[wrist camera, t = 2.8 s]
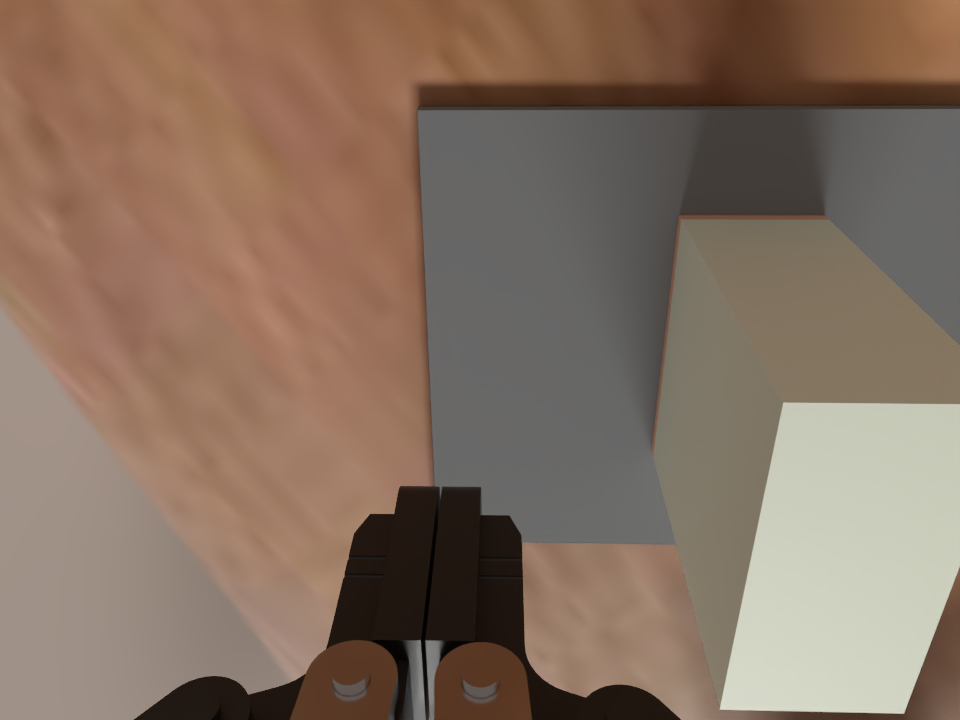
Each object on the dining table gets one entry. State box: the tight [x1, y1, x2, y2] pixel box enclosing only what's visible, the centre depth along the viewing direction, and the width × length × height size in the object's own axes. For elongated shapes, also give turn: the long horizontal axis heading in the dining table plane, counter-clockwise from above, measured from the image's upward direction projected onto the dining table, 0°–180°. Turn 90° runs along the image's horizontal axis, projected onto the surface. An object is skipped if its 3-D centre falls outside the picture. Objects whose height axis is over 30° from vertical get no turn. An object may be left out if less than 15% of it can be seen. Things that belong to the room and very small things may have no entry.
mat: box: [417, 105, 960, 545], centre depth 21 cm, size 22×13×1 cm, turn 91°
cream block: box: [651, 215, 960, 714], centre depth 17 cm, size 4×7×8 cm, turn 1°
